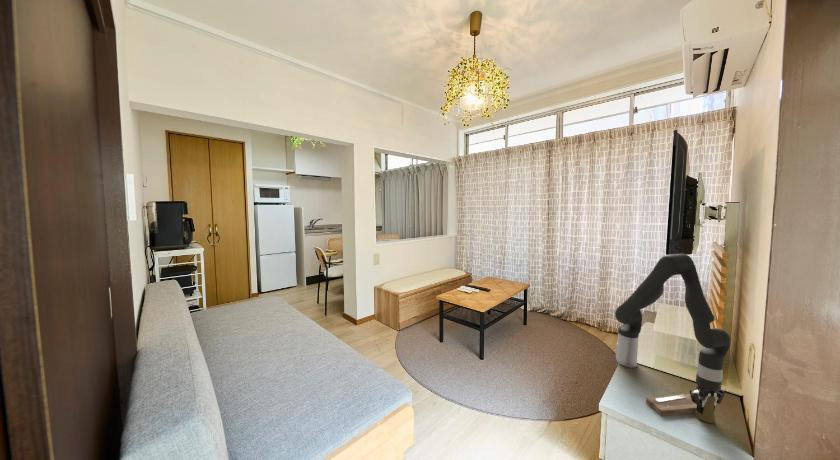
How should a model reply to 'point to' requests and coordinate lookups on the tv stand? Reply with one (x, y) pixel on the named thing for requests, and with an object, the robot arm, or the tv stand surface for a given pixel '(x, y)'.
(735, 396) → the tv stand surface
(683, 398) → the steel ruler
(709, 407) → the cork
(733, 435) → the tv stand surface
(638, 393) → the tv stand surface
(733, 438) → the tv stand surface
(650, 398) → the walnut board
